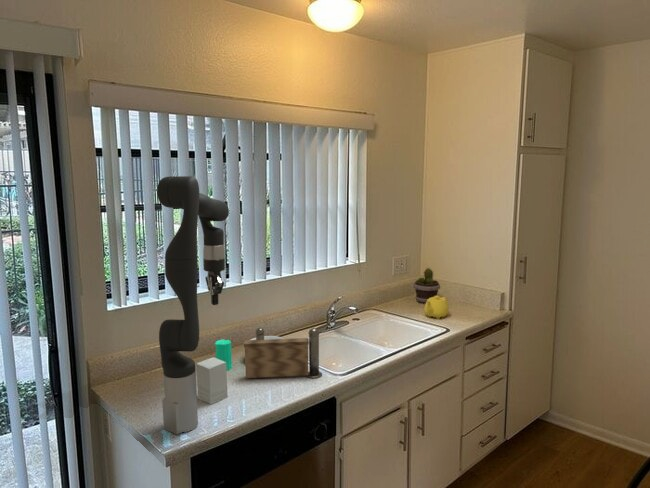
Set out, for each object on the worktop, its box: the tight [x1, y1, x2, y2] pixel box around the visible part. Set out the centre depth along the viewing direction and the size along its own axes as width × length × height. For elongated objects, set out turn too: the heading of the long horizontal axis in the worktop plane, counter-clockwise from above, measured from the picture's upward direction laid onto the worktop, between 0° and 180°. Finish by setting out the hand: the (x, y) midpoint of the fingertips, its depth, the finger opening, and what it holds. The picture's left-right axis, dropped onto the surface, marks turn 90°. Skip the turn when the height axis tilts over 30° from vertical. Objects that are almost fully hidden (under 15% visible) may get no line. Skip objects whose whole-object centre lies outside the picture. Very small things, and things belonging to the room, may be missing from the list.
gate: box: [243, 337, 309, 379], centre depth 187 cm, size 23×4×13 cm, turn 96°
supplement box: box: [195, 357, 229, 405], centre depth 171 cm, size 7×7×13 cm
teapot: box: [423, 295, 450, 320], centre depth 259 cm, size 18×11×11 cm, turn 137°
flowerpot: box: [412, 265, 441, 305], centre depth 285 cm, size 14×15×20 cm
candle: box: [214, 339, 233, 372], centre depth 195 cm, size 6×6×12 cm
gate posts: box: [255, 327, 323, 380], centre depth 188 cm, size 7×26×18 cm, turn 89°
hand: (214, 304), depth 183 cm, fingers closed
